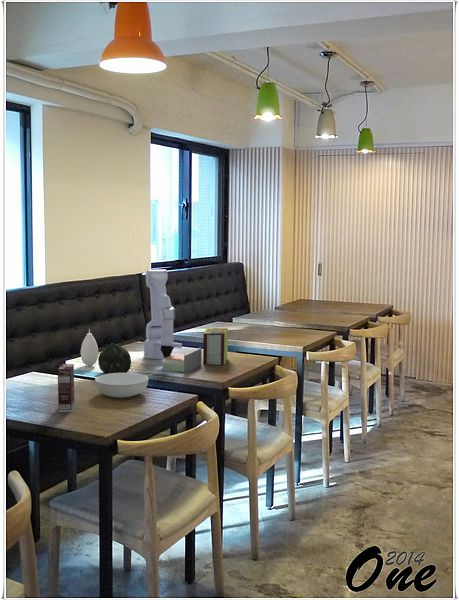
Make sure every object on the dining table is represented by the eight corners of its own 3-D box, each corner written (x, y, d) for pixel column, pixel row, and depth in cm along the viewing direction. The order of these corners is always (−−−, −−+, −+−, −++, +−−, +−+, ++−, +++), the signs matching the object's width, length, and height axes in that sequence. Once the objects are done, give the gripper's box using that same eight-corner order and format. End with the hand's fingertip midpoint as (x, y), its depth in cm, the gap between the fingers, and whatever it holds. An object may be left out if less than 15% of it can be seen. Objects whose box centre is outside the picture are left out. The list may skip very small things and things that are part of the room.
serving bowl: (158, 392, 266) (158, 375, 266) (129, 405, 247) (129, 387, 247) (114, 385, 275) (114, 369, 274) (84, 398, 256) (83, 380, 255)
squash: (130, 356, 306) (109, 334, 300) (141, 364, 293) (120, 341, 287) (108, 378, 303) (86, 356, 296) (118, 387, 290) (96, 364, 283)
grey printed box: (162, 369, 304) (162, 352, 304) (178, 362, 321) (178, 345, 320) (186, 372, 300) (186, 355, 299) (201, 364, 317) (201, 348, 316)
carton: (164, 369, 307) (164, 358, 307) (175, 364, 319) (175, 353, 318) (184, 371, 304) (184, 360, 303) (194, 366, 315) (194, 355, 314)
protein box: (227, 358, 332) (228, 328, 330) (224, 365, 316) (224, 333, 314) (206, 357, 333) (207, 327, 331) (202, 364, 317) (203, 332, 315)
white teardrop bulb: (88, 368, 304) (88, 330, 302) (77, 366, 308) (77, 328, 306) (101, 366, 310) (101, 328, 308) (90, 363, 315) (90, 326, 312)
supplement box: (61, 405, 245) (61, 363, 243) (74, 405, 245) (74, 363, 243) (57, 412, 236) (57, 369, 234) (71, 412, 237) (70, 369, 235)
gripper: (149, 333, 310) (149, 361, 312) (177, 335, 305) (177, 364, 307) (156, 331, 317) (156, 358, 318) (183, 333, 312) (183, 361, 314)
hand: (167, 361), depth 313 cm, fingers closed
